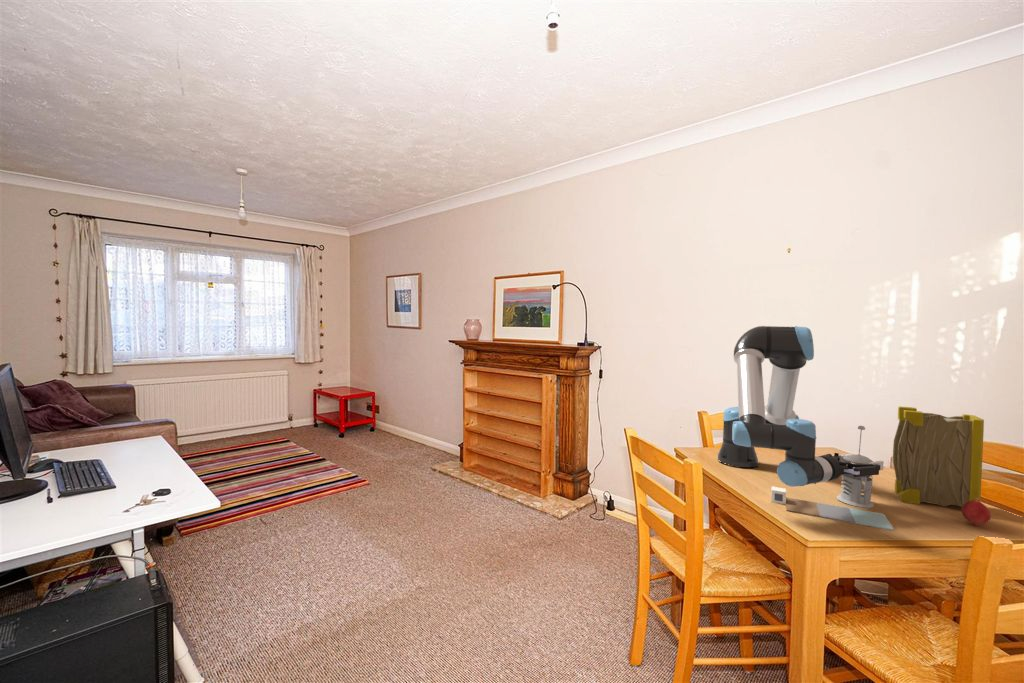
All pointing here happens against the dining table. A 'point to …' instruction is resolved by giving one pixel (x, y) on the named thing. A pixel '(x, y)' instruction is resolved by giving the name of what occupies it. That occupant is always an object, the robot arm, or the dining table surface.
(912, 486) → the decorative book
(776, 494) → the letter cube
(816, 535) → the dining table surface
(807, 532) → the dining table surface
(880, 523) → the tile teal
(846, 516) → the tile slate
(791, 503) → the tile walnut
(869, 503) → the french press
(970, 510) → the onion
